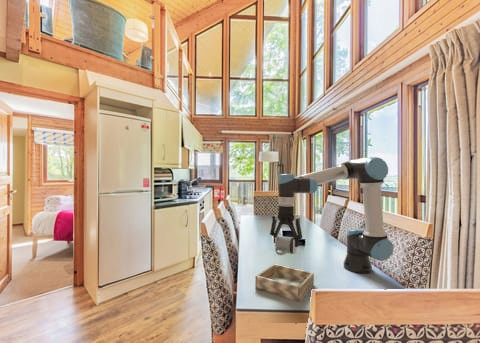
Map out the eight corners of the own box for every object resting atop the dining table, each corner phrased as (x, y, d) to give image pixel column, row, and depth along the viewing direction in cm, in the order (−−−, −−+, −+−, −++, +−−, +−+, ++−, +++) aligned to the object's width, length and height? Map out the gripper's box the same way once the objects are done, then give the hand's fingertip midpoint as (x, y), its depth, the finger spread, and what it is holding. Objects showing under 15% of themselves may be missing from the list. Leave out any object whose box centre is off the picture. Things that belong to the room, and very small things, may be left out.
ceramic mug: (282, 248, 128) (282, 233, 128) (297, 251, 123) (297, 236, 123) (271, 253, 120) (271, 237, 120) (286, 257, 115) (286, 240, 115)
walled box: (313, 285, 124) (313, 272, 125) (299, 302, 108) (300, 288, 108) (273, 274, 136) (273, 263, 136) (255, 288, 120) (255, 276, 120)
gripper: (263, 204, 125) (262, 249, 125) (305, 208, 113) (304, 258, 113) (269, 203, 131) (269, 246, 131) (310, 206, 120) (309, 253, 120)
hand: (285, 251), depth 122 cm, fingers closed on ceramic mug, 8 cm apart
